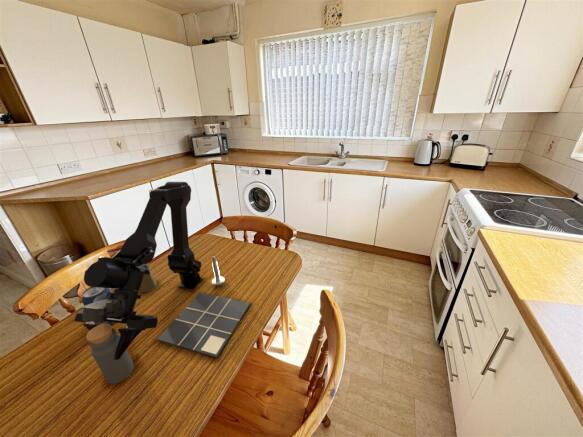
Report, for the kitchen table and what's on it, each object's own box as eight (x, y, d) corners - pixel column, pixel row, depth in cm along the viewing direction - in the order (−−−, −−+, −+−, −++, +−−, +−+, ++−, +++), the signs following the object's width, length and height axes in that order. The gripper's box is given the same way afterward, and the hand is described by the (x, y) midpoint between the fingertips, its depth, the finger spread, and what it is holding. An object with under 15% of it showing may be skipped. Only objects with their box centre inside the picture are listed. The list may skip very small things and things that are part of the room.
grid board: (157, 340, 69) (156, 339, 69) (200, 293, 86) (199, 292, 86) (217, 358, 63) (216, 356, 63) (250, 304, 81) (249, 302, 80)
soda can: (121, 320, 76) (108, 291, 71) (94, 332, 72) (78, 302, 67) (119, 307, 81) (107, 279, 76) (94, 317, 78) (79, 289, 72)
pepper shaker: (135, 289, 89) (125, 265, 85) (149, 280, 94) (141, 256, 90) (146, 293, 87) (137, 269, 82) (160, 283, 92) (152, 259, 88)
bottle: (113, 388, 57) (89, 346, 51) (102, 376, 60) (78, 334, 54) (138, 368, 62) (119, 327, 55) (127, 357, 65) (107, 317, 58)
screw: (212, 282, 92) (225, 279, 93) (212, 290, 88) (226, 287, 89) (206, 254, 86) (219, 251, 88) (206, 261, 82) (220, 258, 83)
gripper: (64, 284, 56) (34, 359, 50) (135, 291, 53) (111, 372, 48) (105, 287, 66) (84, 350, 61) (166, 293, 63) (149, 360, 58)
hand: (105, 357), depth 57 cm, fingers closed on bottle, 6 cm apart
